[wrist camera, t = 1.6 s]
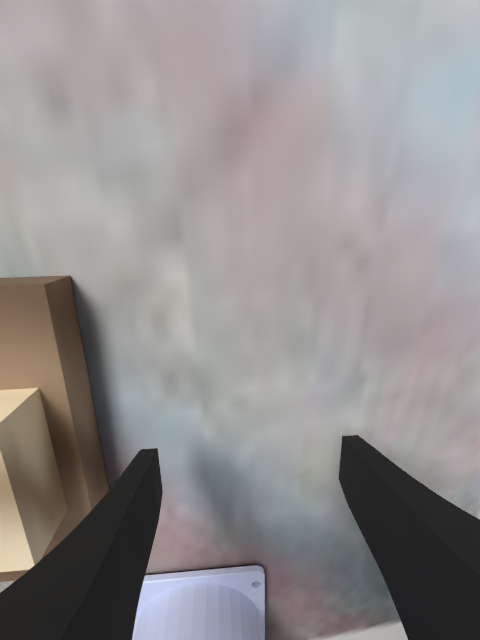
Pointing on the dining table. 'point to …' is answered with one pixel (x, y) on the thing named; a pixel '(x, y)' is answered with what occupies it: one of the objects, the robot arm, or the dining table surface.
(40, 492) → the oak tile
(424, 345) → the dining table surface
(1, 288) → the walnut board
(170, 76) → the dining table surface
